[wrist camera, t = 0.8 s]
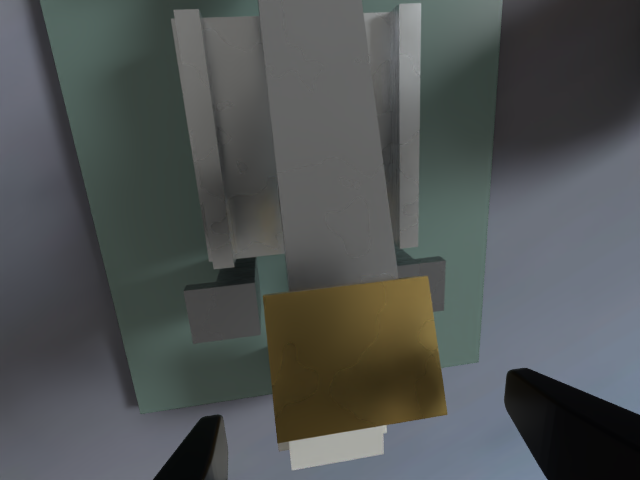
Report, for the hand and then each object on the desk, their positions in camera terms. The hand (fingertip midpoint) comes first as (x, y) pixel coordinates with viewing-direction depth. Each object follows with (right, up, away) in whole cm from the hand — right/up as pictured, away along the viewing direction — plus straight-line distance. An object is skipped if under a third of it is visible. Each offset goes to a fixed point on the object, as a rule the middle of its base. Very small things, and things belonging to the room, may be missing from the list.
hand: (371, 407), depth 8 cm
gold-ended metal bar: (-1, +8, +4) cm, 9 cm away
